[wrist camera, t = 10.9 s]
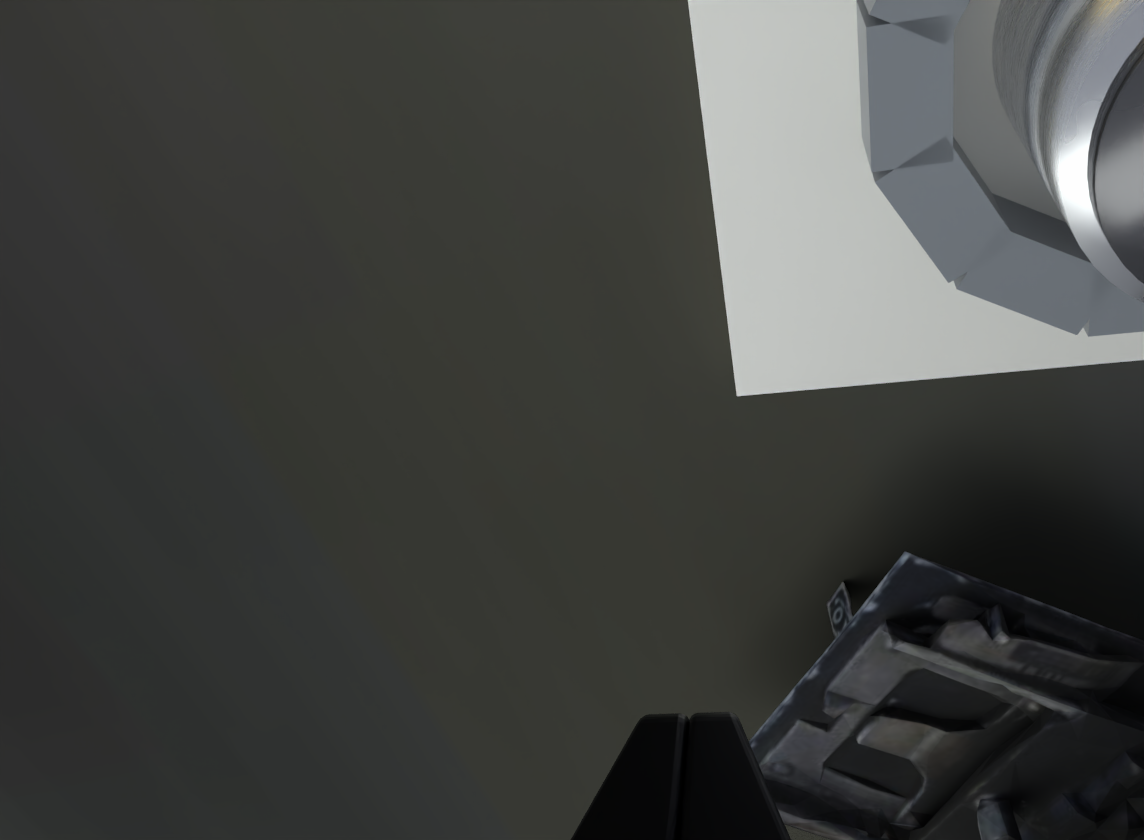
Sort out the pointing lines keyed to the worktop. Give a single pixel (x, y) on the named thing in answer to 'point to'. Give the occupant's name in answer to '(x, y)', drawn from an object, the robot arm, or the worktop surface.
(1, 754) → the worktop surface
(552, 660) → the worktop surface
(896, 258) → the barrel plate
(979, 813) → the vintage camera
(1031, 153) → the metal cylinder
